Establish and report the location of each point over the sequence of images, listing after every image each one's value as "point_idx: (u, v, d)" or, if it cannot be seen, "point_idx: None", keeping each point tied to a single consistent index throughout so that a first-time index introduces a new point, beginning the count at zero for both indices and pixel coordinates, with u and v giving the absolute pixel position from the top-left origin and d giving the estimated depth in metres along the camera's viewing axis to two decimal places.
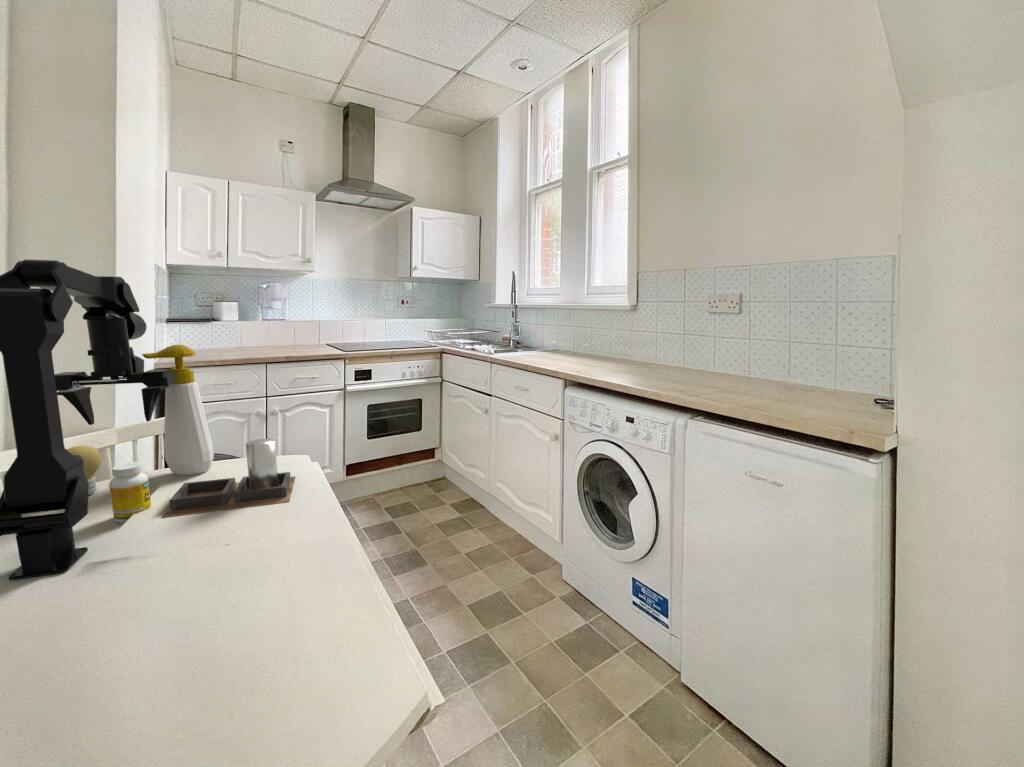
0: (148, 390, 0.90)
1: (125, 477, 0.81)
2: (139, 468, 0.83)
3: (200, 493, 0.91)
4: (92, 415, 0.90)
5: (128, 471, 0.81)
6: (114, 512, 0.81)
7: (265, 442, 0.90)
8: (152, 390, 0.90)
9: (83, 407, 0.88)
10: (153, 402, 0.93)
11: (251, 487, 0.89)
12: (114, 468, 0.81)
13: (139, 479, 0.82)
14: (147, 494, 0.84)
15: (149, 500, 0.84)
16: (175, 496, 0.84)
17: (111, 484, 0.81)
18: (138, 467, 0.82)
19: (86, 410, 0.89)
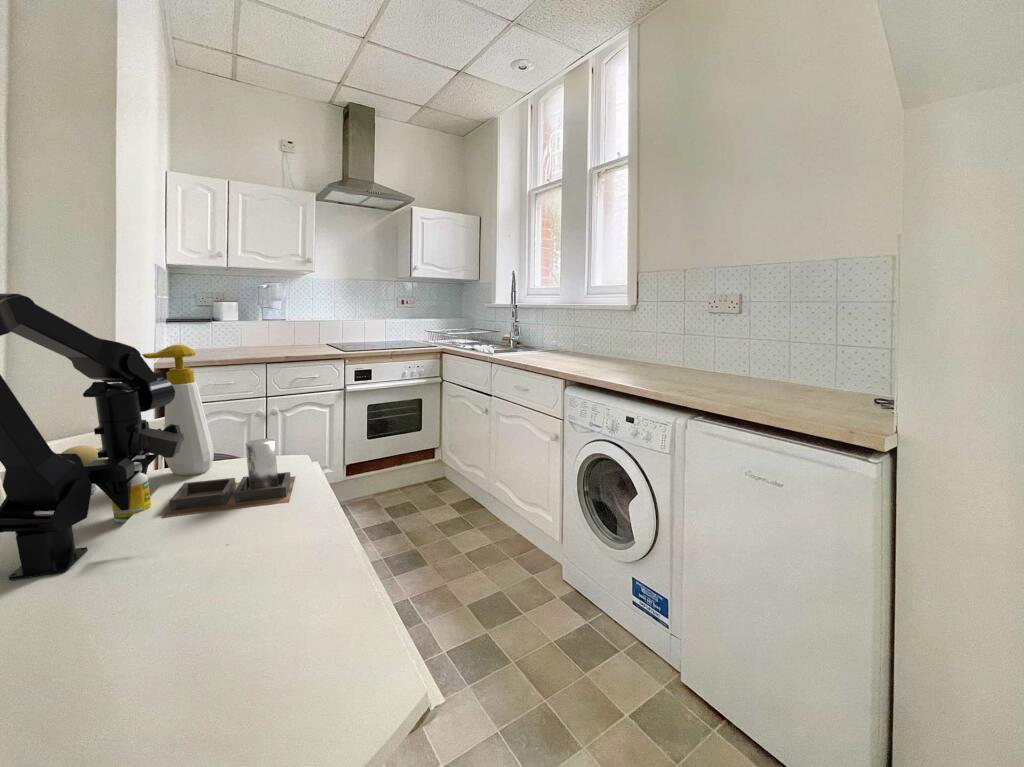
0: None
1: None
2: (139, 468, 0.83)
3: (200, 493, 0.91)
4: None
5: None
6: (114, 512, 0.81)
7: (265, 442, 0.90)
8: None
9: None
10: (119, 492, 0.79)
11: (251, 487, 0.89)
12: None
13: (139, 479, 0.82)
14: (147, 494, 0.84)
15: (149, 500, 0.84)
16: (175, 496, 0.84)
17: None
18: (138, 467, 0.82)
19: None
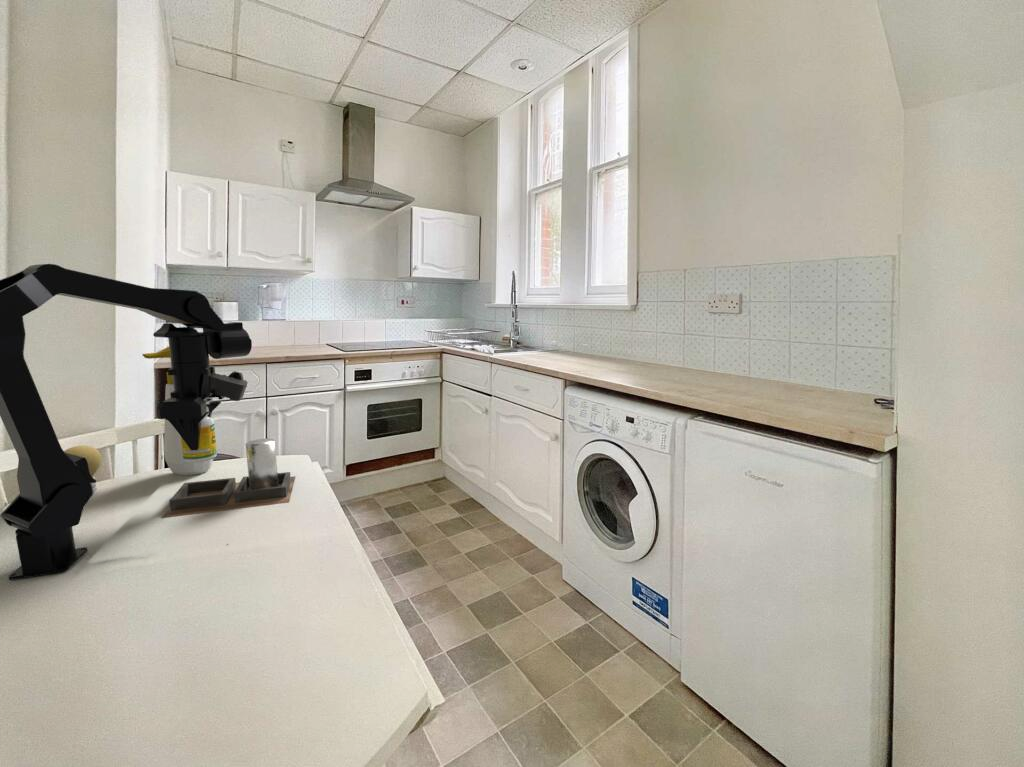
0: None
1: None
2: (207, 411, 0.86)
3: (200, 493, 0.91)
4: None
5: None
6: (183, 452, 0.84)
7: (265, 442, 0.90)
8: None
9: None
10: (190, 431, 0.82)
11: (251, 487, 0.89)
12: None
13: (207, 421, 0.85)
14: (214, 437, 0.87)
15: (215, 443, 0.87)
16: (175, 496, 0.84)
17: None
18: (206, 409, 0.85)
19: None
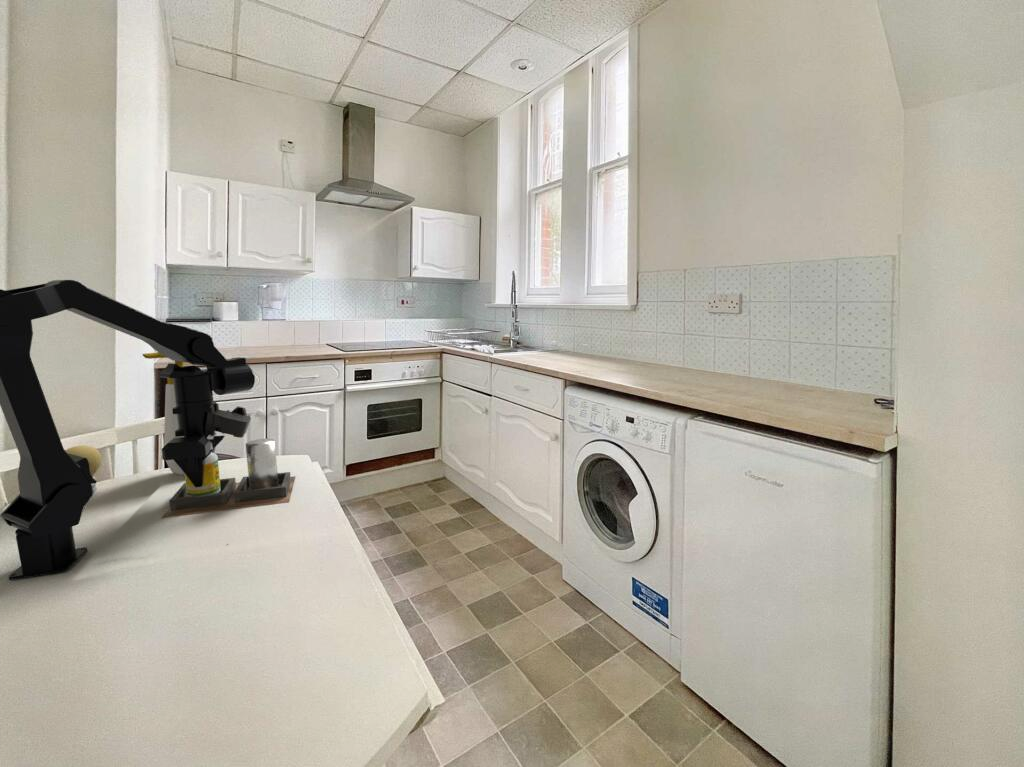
0: None
1: None
2: (211, 448, 0.87)
3: None
4: None
5: None
6: (188, 489, 0.86)
7: (265, 442, 0.90)
8: None
9: None
10: (194, 469, 0.83)
11: (251, 487, 0.89)
12: None
13: (211, 458, 0.86)
14: (217, 473, 0.88)
15: (219, 478, 0.89)
16: (175, 496, 0.84)
17: None
18: None
19: None
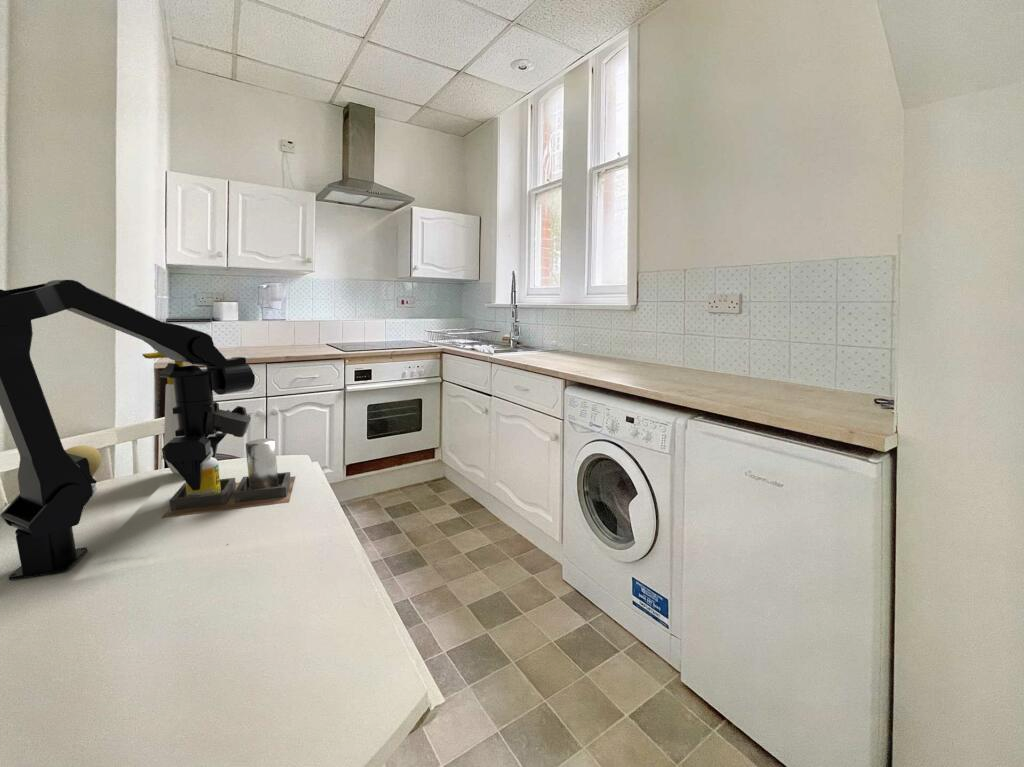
0: None
1: None
2: (211, 452, 0.87)
3: None
4: None
5: None
6: (188, 494, 0.86)
7: (265, 442, 0.90)
8: None
9: None
10: (192, 472, 0.82)
11: (251, 487, 0.89)
12: None
13: (212, 463, 0.87)
14: (218, 477, 0.88)
15: (219, 483, 0.89)
16: (175, 496, 0.84)
17: None
18: (210, 451, 0.87)
19: None
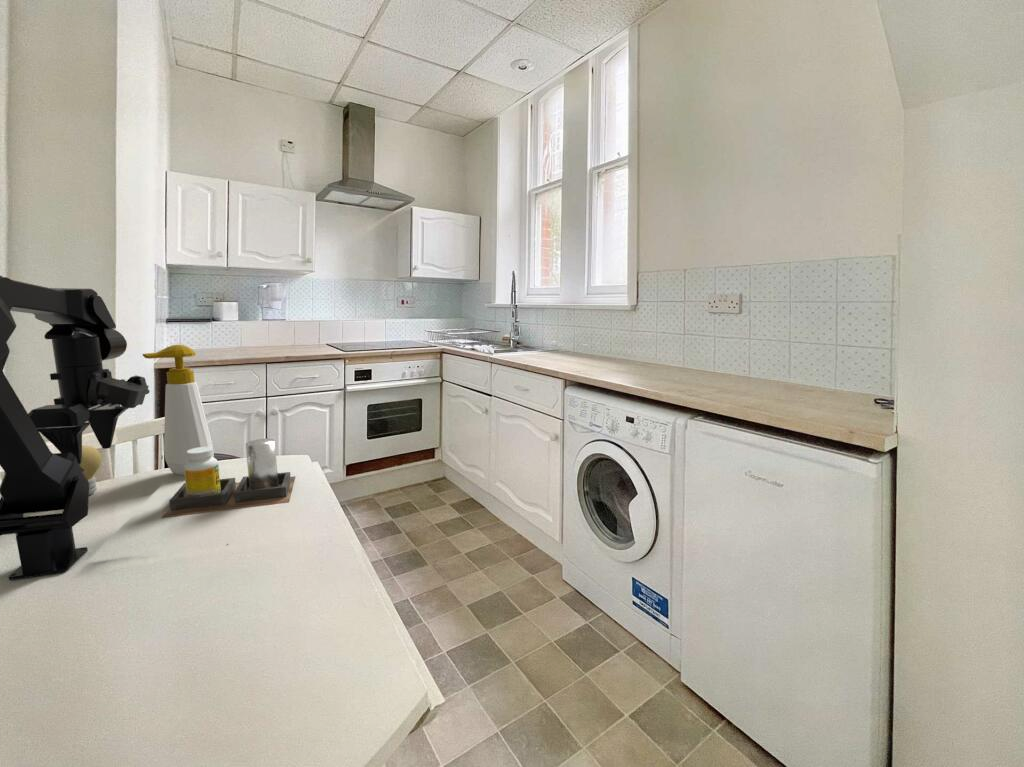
0: None
1: (199, 461, 0.85)
2: (211, 452, 0.87)
3: None
4: (106, 439, 0.84)
5: (202, 455, 0.85)
6: (188, 494, 0.86)
7: (265, 442, 0.90)
8: None
9: (93, 428, 0.83)
10: (68, 444, 0.74)
11: (251, 487, 0.89)
12: (189, 452, 0.85)
13: (212, 463, 0.87)
14: (218, 477, 0.88)
15: (219, 483, 0.89)
16: (175, 496, 0.84)
17: (186, 467, 0.85)
18: (210, 451, 0.87)
19: (97, 432, 0.84)
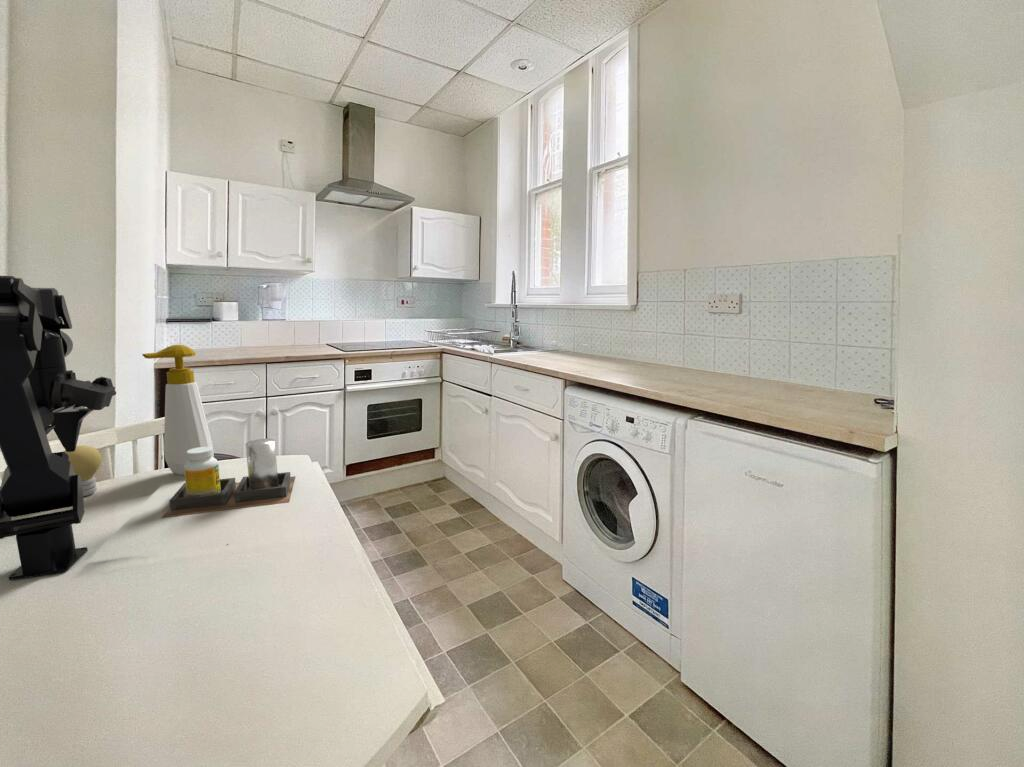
0: None
1: (199, 461, 0.85)
2: (211, 452, 0.87)
3: None
4: (70, 442, 0.82)
5: (202, 455, 0.85)
6: (188, 494, 0.86)
7: (265, 442, 0.90)
8: None
9: (56, 431, 0.81)
10: None
11: (251, 487, 0.89)
12: (189, 452, 0.85)
13: (212, 463, 0.87)
14: (218, 477, 0.88)
15: (219, 483, 0.89)
16: (175, 496, 0.84)
17: (186, 467, 0.85)
18: (210, 451, 0.87)
19: (60, 435, 0.81)
